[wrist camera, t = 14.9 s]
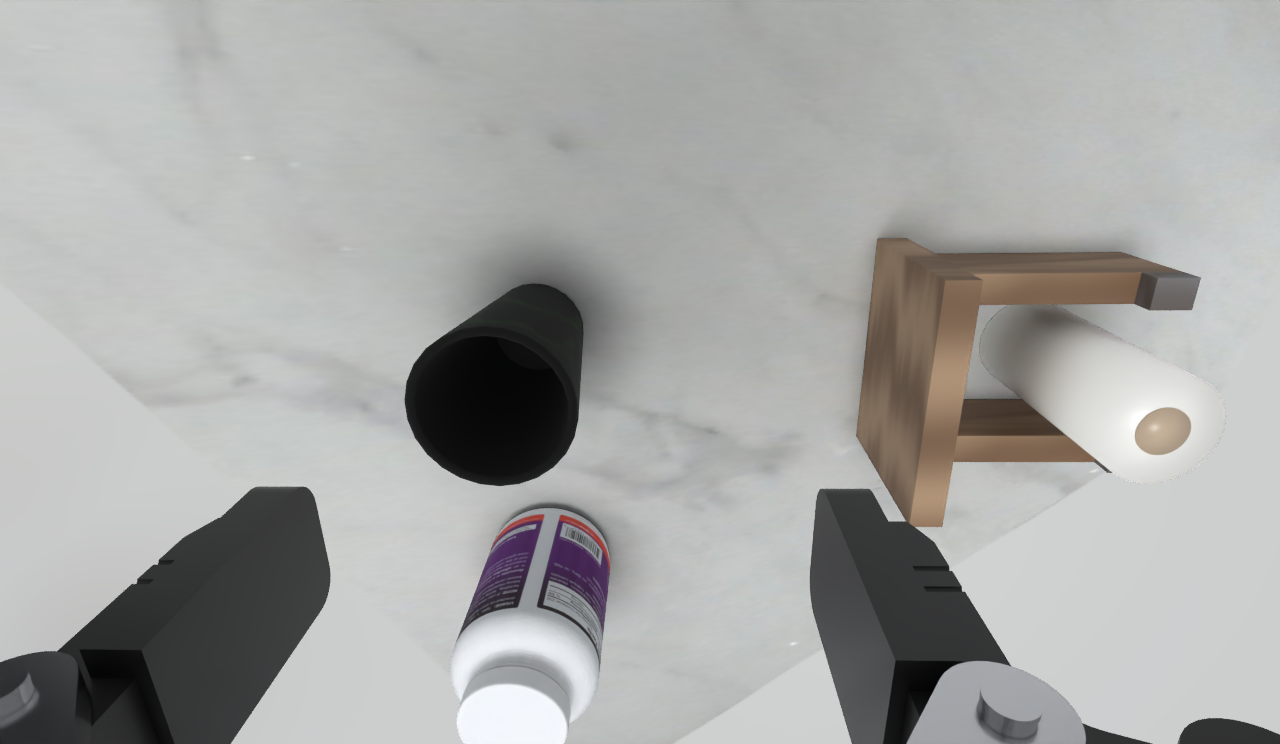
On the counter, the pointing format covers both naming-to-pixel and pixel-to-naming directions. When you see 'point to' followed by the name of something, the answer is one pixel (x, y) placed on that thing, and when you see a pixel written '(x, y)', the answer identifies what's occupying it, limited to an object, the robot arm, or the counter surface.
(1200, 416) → the roll
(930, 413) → the holder
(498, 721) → the pill bottle
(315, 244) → the counter surface
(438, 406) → the cup
